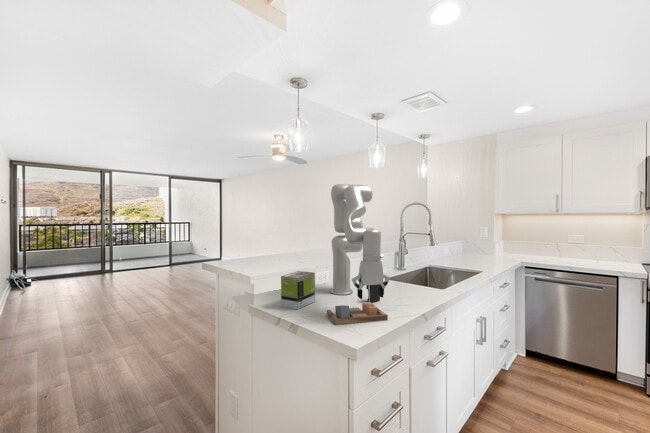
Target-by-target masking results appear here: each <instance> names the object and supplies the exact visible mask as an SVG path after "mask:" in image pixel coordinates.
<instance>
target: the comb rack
mask: <svg viewBox="0 0 650 433" xmlns="http://www.w3.org/2000/svg"><path fill="white" fill-rule="evenodd" d="M349 312H350V317H348V318H338V317H336V314H335V313H334V312H333V311H332V310H331V309H327V310H326V316H327V317H328V318H329V320H331V322H332V323H333V324H334V325H335V326H338V325H348V324H349V325H350V324H351V325H353V324H362V323H370V322H382V321H388V320H389V317H388V316H389V315H388V314H387V313H386V312H384V311H382V310H381V309H379V308H378V307H377V315H370V316H368V315H367V314H366V313H364V312H363V311H362V309H361V308H360V307H349Z"/></svg>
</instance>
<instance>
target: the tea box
mask: <svg viewBox="0 0 650 433" xmlns="http://www.w3.org/2000/svg"><path fill="white" fill-rule="evenodd" d="M315 276H316V273H315V272H313V271H303V270H296V271H293V272H290V273H287V274H284V275H281V276H280V291H281V294H280V295H281V296H280V302H281V303H280V304H281V307H282V306H283V307H284V308H287V307H288V308H287V309H293V310H300V309H302V308H304V307H306V306H308V305H310V304H312V303H315V302H316V277H315Z"/></svg>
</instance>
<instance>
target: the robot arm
mask: <svg viewBox="0 0 650 433" xmlns="http://www.w3.org/2000/svg"><path fill="white" fill-rule="evenodd" d="M330 198H331V201H332V204H333V220H334V221H333V226H334V231H335V233H339V234H340V233H341V234H342V235H336V236H334V237H333V238H332V239H331V249H332V250H331V251H332V288H331V289H329V290H330V293H331V294H332V295H338V296H344V295H345V296H346V295H352V294H353V292H354V290H353V289H352V288H351V282H352V284H353V286H354V287H355V288H356V290H357V297H358V299H360V300H362V299H363V292H364V291H363V288H364V287H365V286H366V285H378V284H379V285H380V287H379V296H380V298H384V295H385V289H386V286H387V285H388V284H389V282H390V280H391V278H390V277H389V276H388V275H385V274H384V268H383V267H384V266H383V262H382V259H383V258H384V255H383V254H381V248H382V247H381V246H382V245H381V242H382V236H381V235H382V234H381V233H382V232H381V231H380V230H379V229H375V228H374V227H363V226H364V225H363V220H362V218H361V217H362V216H363V215H365V213H366V212H367V207H366V205H365V203H369V202H371V201H372V200H373V191H372V189H371V187H370V186H368V185H363V184H350V183H348V184H347V183H339V184H338V183H337V184H334V185H333V186H332V187H331V191H330ZM343 234H344V235H343ZM361 251H362V260H360V263H359V267H358V274H357V276H355V277H353V278H351V259H350V258H349V256H348V255H347V253H360V252H361ZM357 281H358V283H357Z"/></svg>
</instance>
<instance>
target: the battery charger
mask: <svg viewBox="0 0 650 433" xmlns="http://www.w3.org/2000/svg"><path fill="white" fill-rule="evenodd" d="M365 287H366V288H365V289H366V290H367V292H368V293H367V294H368V296H367V302H370V303H375V302H379V301H381V297H380V296H379V287H380V285H379V284H378V285H365Z"/></svg>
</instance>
